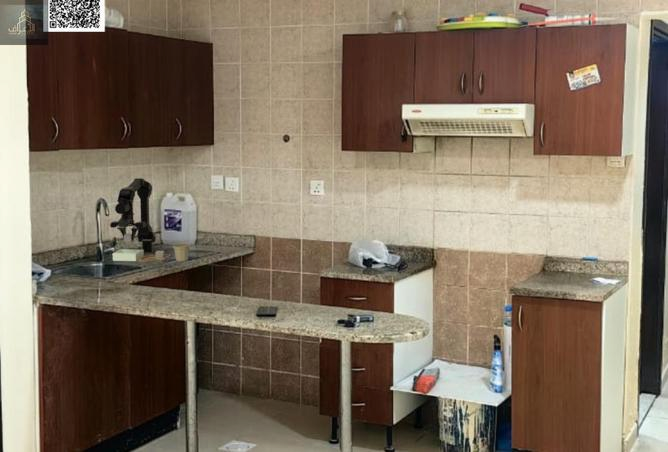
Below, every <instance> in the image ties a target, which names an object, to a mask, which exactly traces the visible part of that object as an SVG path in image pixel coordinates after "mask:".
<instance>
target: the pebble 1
mask: <svg viewBox="0 0 668 452" xmlns="http://www.w3.org/2000/svg"><path fill="white" fill-rule="evenodd" d="M134 241H135V239H134V240H133V241H132V233H126V234H124V238H123V242H124V243H132V242H133V243H134Z"/></svg>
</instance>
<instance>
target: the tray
mask: <svg viewBox="0 0 668 452" xmlns="http://www.w3.org/2000/svg"><path fill="white" fill-rule="evenodd" d="M172 255H173V254H166V253H164V258H163V259H156V254H155V253H153V254H151V253H150V254H149V253H146V254H144V256H143V257H141V258H139V259H137V261H136V262H147V263H149V262H151V263H152V262H157V263H161V262H164V261H166V260H168V259H169V258H172V257H173V256H172Z"/></svg>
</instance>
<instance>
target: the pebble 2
mask: <svg viewBox="0 0 668 452" xmlns="http://www.w3.org/2000/svg"><path fill="white" fill-rule="evenodd" d="M154 252H155V253H154V254H156V259H163V258H164V254H165V250H156V251H154Z"/></svg>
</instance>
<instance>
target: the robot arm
mask: <svg viewBox="0 0 668 452" xmlns="http://www.w3.org/2000/svg"><path fill="white" fill-rule="evenodd" d="M136 192H137V193H136ZM152 192H153V185H152V184H151V182H149V181H147V180H145V179H144V178H141V177H140V178H137V177H136V178H134V179H133V181H132V182H131V183H130V184H129V185H128V186H126V187H122V188H121V189H120V190H119V193H118V197H117V201H116V202H117V204H116V205H115V209H114V210H115V212H116V213H117V214H118V215H121V218H119V220H117V221H116V220H114V221H111V222H110V225H109V226H110V228H116V229H117V230H119V231H120V233H121V235H122V237H123V239H124V234H127V227H130V230H131V234H132V241H133V240H134V241H135V236H136V235H137V240H138V243H141V250H144V253H154V252H156V251H155V250H154V249H153V243H155V242H156V240H157V239H156V236H155V233H154V231H153V227H152V226H151V224H150V197H151V195H152V194H153V193H152ZM136 195H137V197H138V198H139V200H140V206H139V207H140V221H137V222H135V220H134V215H135V213H134V199H135V196H136ZM134 241H133V242H134Z"/></svg>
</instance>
